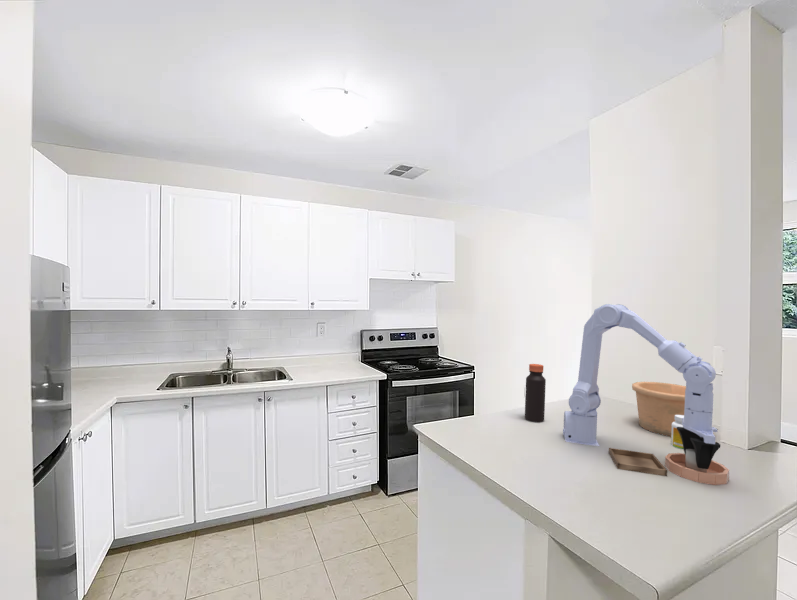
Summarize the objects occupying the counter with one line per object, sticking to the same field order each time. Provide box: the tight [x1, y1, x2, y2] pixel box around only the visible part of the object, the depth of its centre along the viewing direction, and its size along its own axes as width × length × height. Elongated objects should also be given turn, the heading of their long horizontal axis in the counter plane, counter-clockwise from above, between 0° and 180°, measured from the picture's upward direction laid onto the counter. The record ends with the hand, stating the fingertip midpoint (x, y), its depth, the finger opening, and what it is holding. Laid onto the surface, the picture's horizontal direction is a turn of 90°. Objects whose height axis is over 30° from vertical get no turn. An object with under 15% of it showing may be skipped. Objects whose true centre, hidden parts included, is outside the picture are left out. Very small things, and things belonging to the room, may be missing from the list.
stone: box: [685, 449, 707, 472], centre depth 99 cm, size 4×4×5 cm
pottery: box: [631, 381, 686, 437], centre depth 134 cm, size 22×22×14 cm
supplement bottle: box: [670, 415, 684, 451], centre depth 117 cm, size 5×5×10 cm
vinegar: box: [524, 363, 547, 423], centre depth 140 cm, size 7×7×20 cm
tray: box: [608, 447, 668, 477], centre depth 103 cm, size 11×11×2 cm
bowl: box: [664, 452, 730, 486], centre depth 99 cm, size 13×13×3 cm
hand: (696, 461), depth 99 cm, fingers open, 7 cm apart
